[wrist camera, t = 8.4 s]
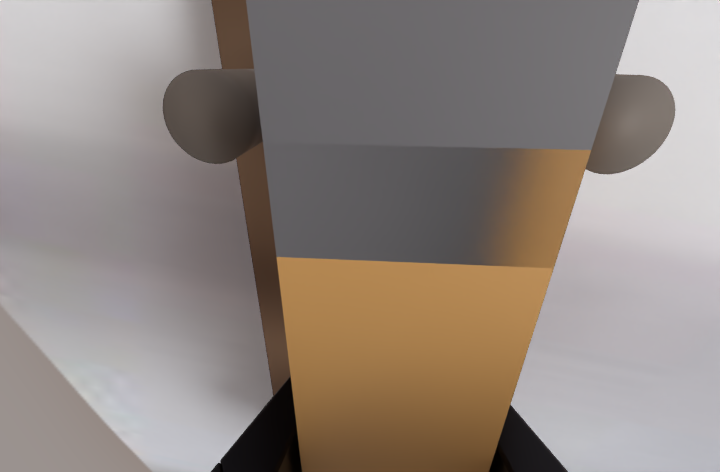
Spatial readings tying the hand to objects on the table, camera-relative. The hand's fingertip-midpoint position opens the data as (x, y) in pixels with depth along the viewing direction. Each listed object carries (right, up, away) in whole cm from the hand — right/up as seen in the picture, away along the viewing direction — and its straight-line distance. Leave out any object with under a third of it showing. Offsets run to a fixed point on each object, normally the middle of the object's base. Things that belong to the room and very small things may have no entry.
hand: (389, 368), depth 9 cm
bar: (0, +1, +1) cm, 1 cm away
